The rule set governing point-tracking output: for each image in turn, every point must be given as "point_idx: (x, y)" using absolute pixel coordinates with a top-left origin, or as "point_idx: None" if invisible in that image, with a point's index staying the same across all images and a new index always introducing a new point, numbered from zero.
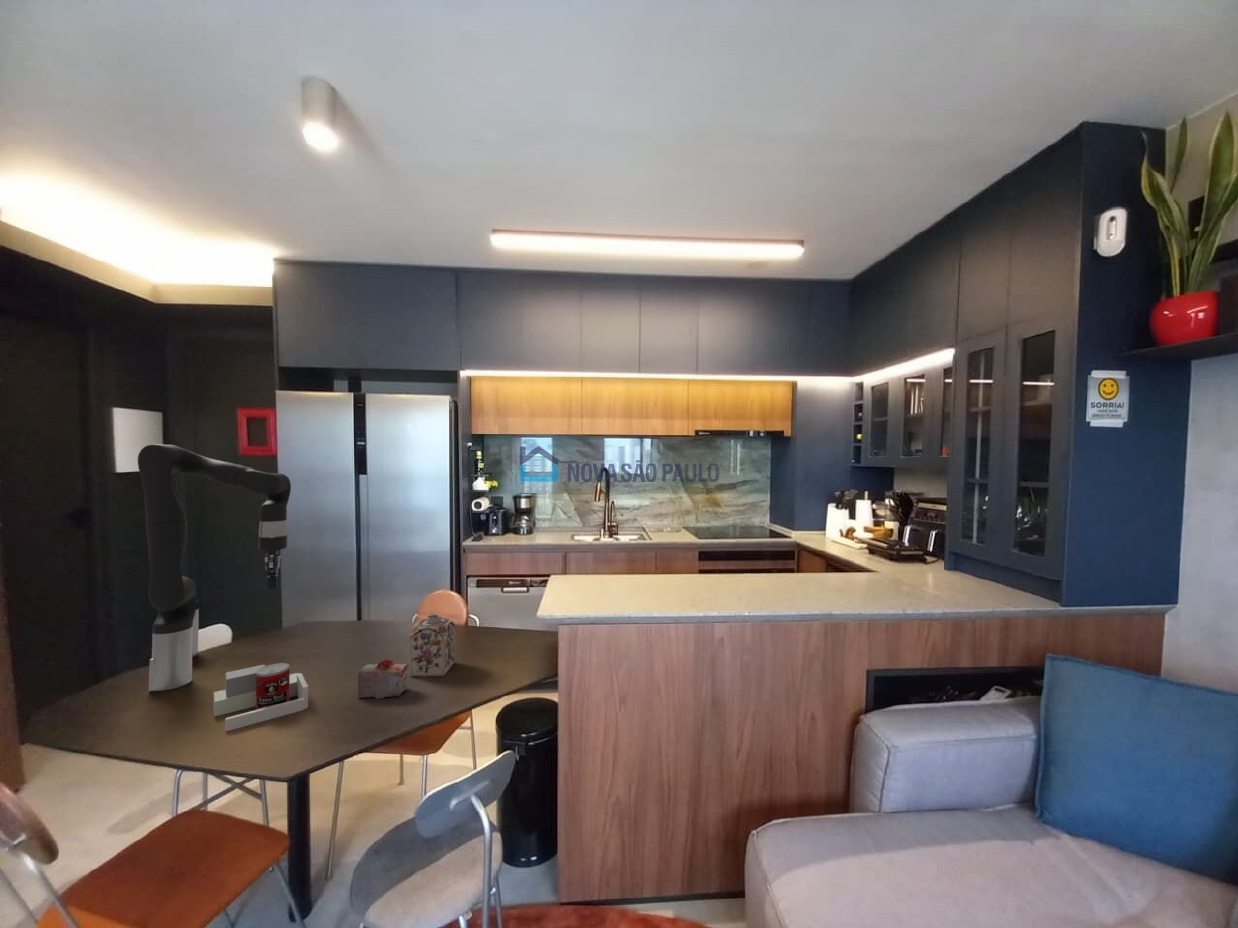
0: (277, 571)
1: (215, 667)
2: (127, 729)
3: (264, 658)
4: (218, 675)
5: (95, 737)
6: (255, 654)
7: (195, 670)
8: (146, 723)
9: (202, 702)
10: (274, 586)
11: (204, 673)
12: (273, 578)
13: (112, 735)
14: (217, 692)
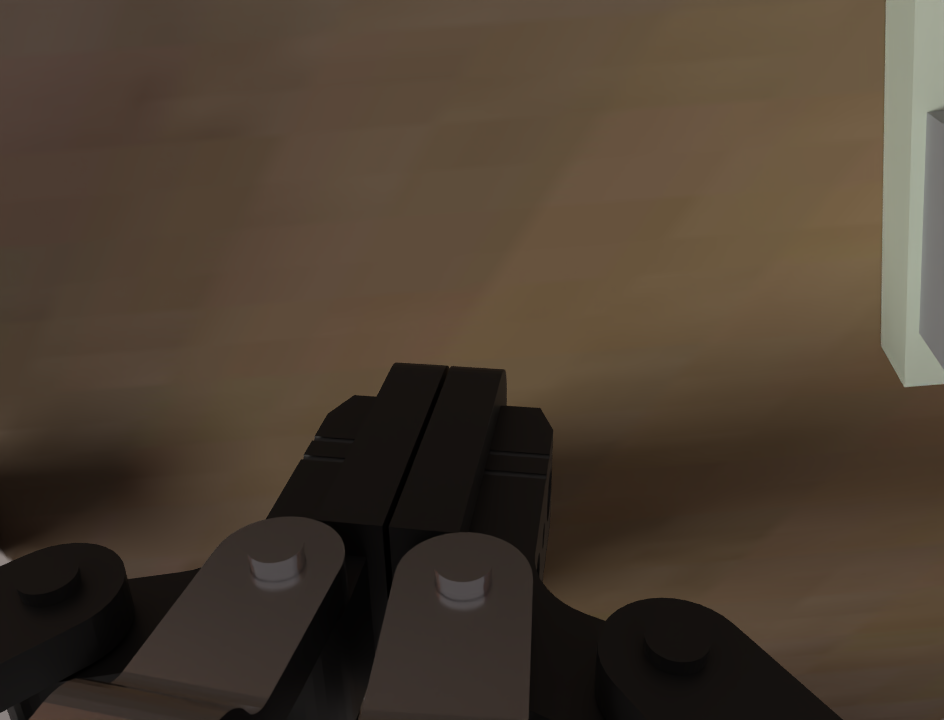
0: (249, 611)
1: (192, 390)
2: (899, 622)
3: (128, 144)
4: (345, 365)
5: (897, 697)
6: (23, 205)
7: (202, 469)
8: (882, 573)
9: (765, 398)
10: (539, 416)
11: (273, 429)
12: (538, 576)
13: (927, 656)
14: (927, 368)
